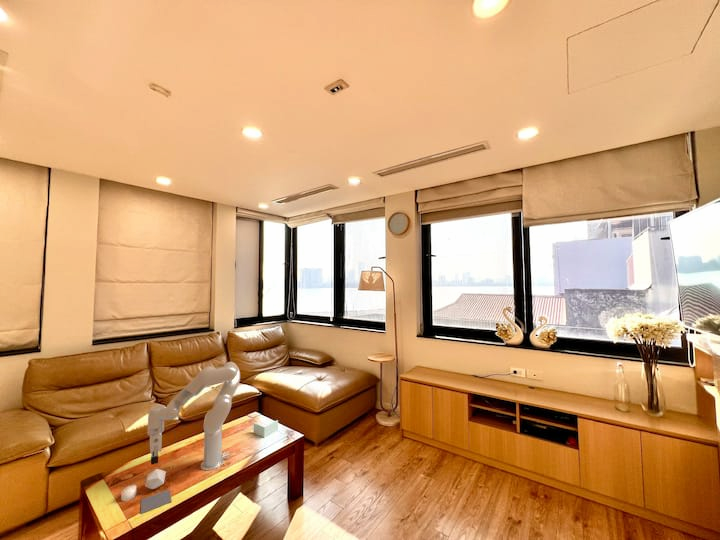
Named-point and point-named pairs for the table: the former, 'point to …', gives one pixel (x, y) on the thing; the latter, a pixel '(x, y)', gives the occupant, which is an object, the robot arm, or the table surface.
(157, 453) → the robot arm
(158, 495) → the mat
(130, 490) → the white rounded lump
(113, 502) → the table surface
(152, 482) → the die
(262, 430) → the pale green block
